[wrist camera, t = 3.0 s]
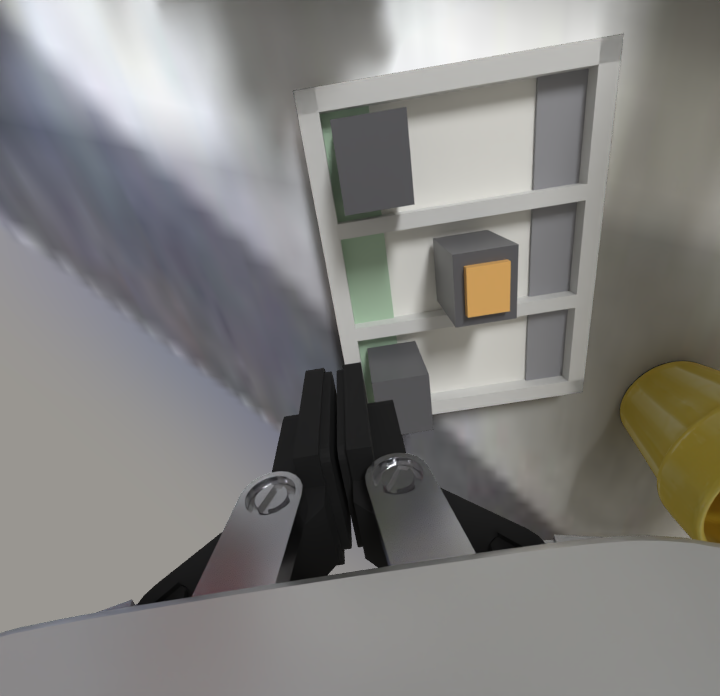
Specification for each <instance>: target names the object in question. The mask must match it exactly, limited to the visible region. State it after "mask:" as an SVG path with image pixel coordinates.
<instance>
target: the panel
mask: <svg viewBox="0 0 720 696" xmlns="http://www.w3.org/2000/svg"><path fill="white" fill-rule="evenodd" d="M623 37H624V34H619V35H613V36H607V37H601V38H595V39H590V40H584V41H578V42H572V43H566V44H561V45H555V46H549V47H543V48H537V49H532V50H526V51H520V52H514V53H508V54H503V55H497V56H491V57H485V58H479V59H474V60H468V61H462V62H456V63H450V64H445V65H439V66H433V67H427V68H421V69H416V70H410V71H404V72H398V73H392V74H387V75H381V76H375V77H369V78H363V79H358V80H352V81H346V82H340V83H334V84H329V85H323V86H317V87H311V88H305V89H300V90H294V91H293V94H294V99H295V104H296V110H297V115H298V120H299V125H300V131H301V136H302V141H303V147H304V152H305V157H306V162H307V168H308V173H309V178H310V183H311V189H312V194H313V199H314V205H315V210H316V215H317V220H318V226H319V231H320V236H321V241H322V247H323V252H324V257H325V263H326V268H327V273H328V278H329V284H330V289H331V294H332V300H333V305H334V310H335V315H336V321H337V326H338V331H339V336H340V342H341V347H342V352H343V358H344V363H345V365H346V364H352V363H358V362H361V366H362V372H363V378H364V384H365V390H366V396H367V402H368V403H374V402H375V400H374V394H373V388H372V381H371V374H370V366H369V359H368V352H367V348H372V347H379V346H385V345H392V344H398V343H405V342H411V341H415V342H416V344H417V346H418V349H419V351H420V354H421V356H422V359H423V361H424V364H425V366H426V368H427V371H428V373H429V381H430V393H431V405H432V414H439V413H446V412H453V411H459V410H466V409H473V408H480V407H486V406H493V405H500V404H507V403H513V402H520V401H527V400H534V399H540V398H547V397H554V396H561V395H567V394H574V393H581V392H583V383H584V375H585V366H586V357H587V349H588V340H589V331H590V323H591V314H592V305H593V297H594V288H595V280H596V271H597V262H598V254H599V245H600V236H601V228H602V219H603V210H604V202H605V193H606V184H607V176H608V167H609V158H610V150H611V141H612V132H613V124H614V115H615V106H616V98H617V89H618V80H619V72H620V63H621V54H622V46H623ZM402 107H407V119H408V131H409V143H410V155H411V167H412V179H413V191H414V203H415V205H409V206H402V207H396V208H390V209H384V210H378V211H372V212H366V213H359V214H353V215H347V216H345V212H344V206H343V199H342V193H341V187H340V180H339V174H338V168H337V162H336V155H335V149H334V143H333V137H332V130H331V124H330V120H331V119H337V118H343V117H349V116H355V115H361V114H367V113H372V112H378V111H384V110H390V109H396V108H402ZM482 230H489V231H491V232H493V233H495V234H498V235H500V236H502V237H504V238H506V239H508V240H510V241H513V242H515V243H517V244H519V252H518V290H517V318H515V319H509V320H502V321H496V322H489V323H483V324H476V325H470V326H463V327H457V328H456V327H455V326H454V324H453V323H452V322H451V320H450V319H449V317H448V316H447V314H446V313H445V311H444V310H443V308H442V307H441V306H440V304H439V303H438V301H437V294H436V279H435V264H434V249H433V238H439V237H445V236H451V235H458V234H464V233H470V232H476V231H482Z"/></svg>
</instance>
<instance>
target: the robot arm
mask: <svg viewBox="0 0 720 696" xmlns="http://www.w3.org/2000/svg"><path fill="white" fill-rule="evenodd" d="M351 518H352V523H353V527H354V532H355V536H356V540H357V545H358V547H363V549H364V553H365V558H366V559H367V560H369V561H370V562H371V563H373V564H374V565H375V566H377V567H378V568H374V569H368V570H361V571H355V572H349V573H342V574H336V575H329V576H328V574H329V573H330V572H331V571H332V569H333V568H334V567H335V566H336V565H342V564H345V559H344V558H345V557H344V549H351V547H352V537H351ZM0 696H720V544H719V543H713V542H707V541H701V540H695V539H689V538H678V537H664V536H649V535H646V536H612V537H590V536H571V535H554V541H553V540H542V539H541V538H540V537H539V536H538V535H536V534H535V533H533V532H531V531H530V530H528V529H526V528H524V527H522V526H520V525H518V524H516V523H514V522H512V521H510V520H507V519H505V518H503V517H501V516H499V515H497V514H495V513H493V512H491V511H488V510H486V509H484V508H482V507H480V506H478V505H476V504H474V503H472V502H469V501H467V500H465V499H463V498H461V497H459V496H457V495H455V494H453V493H450V492H448V491H446V490H444V489H442V488H440V487H439V485H438V483H437V481H436V479H435V477H434V476H433V474H432V472H431V470H430V468H429V466H428V465H427V464H426V463H425V462H424V460H422V459H421V458H419V457H417V456H415V455H412V454H408V453H406V451H405V447H404V443H403V439H402V435H401V431H400V427H399V422H398V418H397V414H396V410H395V406H394V402H393V400H386V401H380V402H374V403H368V402H367V396H366V390H365V384H364V378H363V372H362V366H361V362H358V363H352V364H346V365H343V370H338V371H337V394H336V389H335V384H334V379H333V375H332V372H325V369H324V368H321V369H314V370H308V371H306V372H305V379H304V385H303V392H302V398H301V405H300V411H299V414H298V415H292V416H286V417H284V419H283V423H282V427H281V432H280V437H279V441H278V446H277V451H276V456H275V460H274V465H273V470H272V473H268V474H266V475H263V476H261V477H259V478H257V479H256V480H254V481H252V482H251V483H250V484H249V485H248V486H247V487H246V488H245V489H244V490H243V492H242V493H241V495H240V497H239V499H238V501H237V503H236V505H235V507H234V509H233V511H232V513H231V516H230V518H229V520H228V522H227V524H226V526H225V528H224V530H223V532H222V533H220V534H219V535H218V536H217V537H215V538H214V539H213V540H212V541H210V542H209V543H208V544H207V545H205V546H204V547H203V548H202V549H200V550H199V551H198V552H196V553H195V554H194V555H193V556H191V557H190V558H189V559H188V560H187V561H185V562H184V563H183V564H181V565H180V566H179V567H178V568H176V569H175V570H174V571H173V572H171V573H170V574H169V575H168V576H166V577H165V578H164V579H162V580H161V581H160V582H159V583H158V584H156V585H155V586H154V587H153V588H152V589H151V590H150V591H148V592H147V593H146V594H145V595H144V596H143V598H142V599H141V600H140V602H139V603H138V604H136V605H135V604H134V602H133V601H132V600H129V601H127V602H124V603H122V604H118V605H116V606H113V607H110V608H108V609H105V610H102V611H99V612H96V613H92V614H87V615H80V616H75V617H69V618H64V619H59V620H54V621H50V622H44V623H39V624H35V625H30V626H25V627H20V628H16V629H13V630H9V631H5V632H2V633H0Z"/></svg>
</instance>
